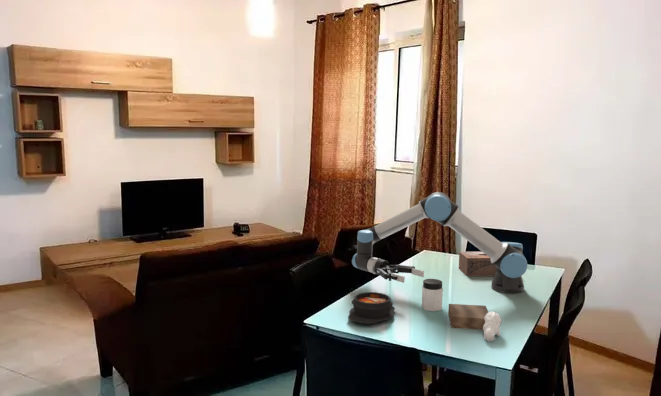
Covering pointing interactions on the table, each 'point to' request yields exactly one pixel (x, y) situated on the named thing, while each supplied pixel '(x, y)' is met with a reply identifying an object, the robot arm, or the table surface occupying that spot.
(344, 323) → the table surface
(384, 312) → the casserole
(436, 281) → the jar
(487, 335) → the white animal figurine
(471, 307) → the walnut block
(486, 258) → the tissue box cover
